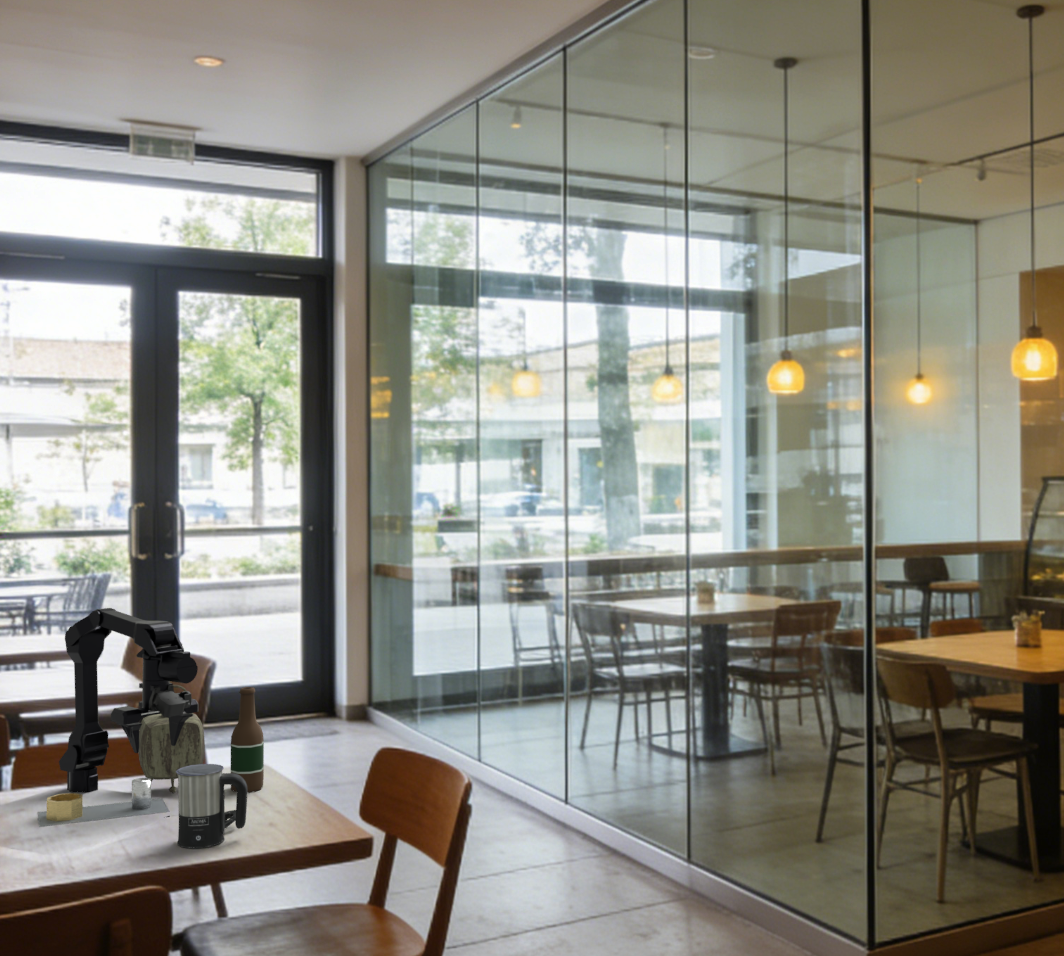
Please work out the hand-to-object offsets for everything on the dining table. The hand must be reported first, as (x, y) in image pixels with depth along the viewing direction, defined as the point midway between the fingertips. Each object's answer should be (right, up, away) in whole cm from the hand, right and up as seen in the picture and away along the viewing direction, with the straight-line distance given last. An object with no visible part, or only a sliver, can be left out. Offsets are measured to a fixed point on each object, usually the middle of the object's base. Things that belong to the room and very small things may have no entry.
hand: (155, 749), depth 249 cm
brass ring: (-16, -12, -9) cm, 22 cm away
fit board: (-9, -14, -5) cm, 17 cm away
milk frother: (+17, -14, -19) cm, 29 cm away
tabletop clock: (-2, -14, +16) cm, 22 cm away
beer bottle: (+16, -14, +18) cm, 28 cm away
